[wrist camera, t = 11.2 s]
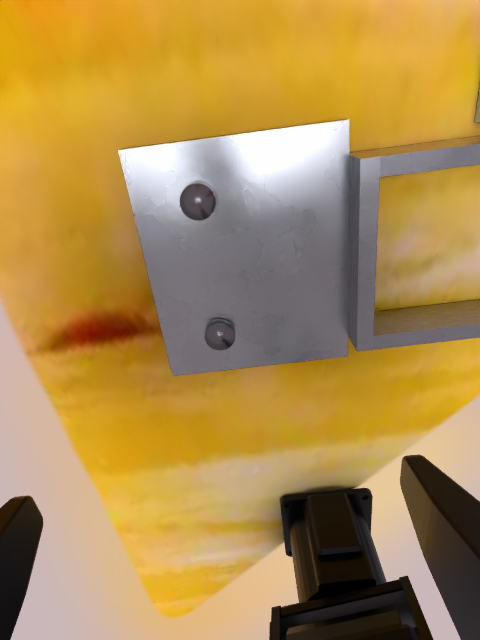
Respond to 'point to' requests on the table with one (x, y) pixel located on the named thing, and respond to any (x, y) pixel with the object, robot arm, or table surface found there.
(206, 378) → the table surface
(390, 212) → the table surface
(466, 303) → the collar
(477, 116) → the tray
